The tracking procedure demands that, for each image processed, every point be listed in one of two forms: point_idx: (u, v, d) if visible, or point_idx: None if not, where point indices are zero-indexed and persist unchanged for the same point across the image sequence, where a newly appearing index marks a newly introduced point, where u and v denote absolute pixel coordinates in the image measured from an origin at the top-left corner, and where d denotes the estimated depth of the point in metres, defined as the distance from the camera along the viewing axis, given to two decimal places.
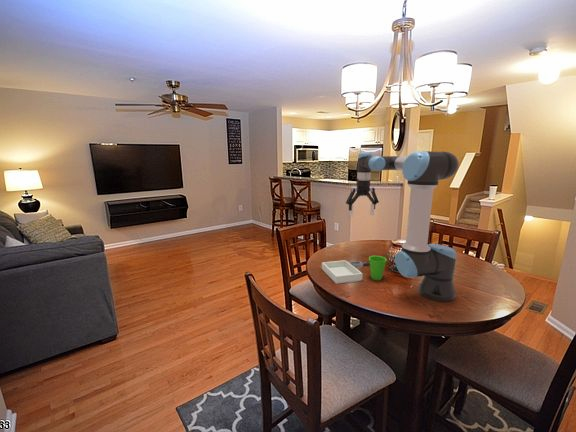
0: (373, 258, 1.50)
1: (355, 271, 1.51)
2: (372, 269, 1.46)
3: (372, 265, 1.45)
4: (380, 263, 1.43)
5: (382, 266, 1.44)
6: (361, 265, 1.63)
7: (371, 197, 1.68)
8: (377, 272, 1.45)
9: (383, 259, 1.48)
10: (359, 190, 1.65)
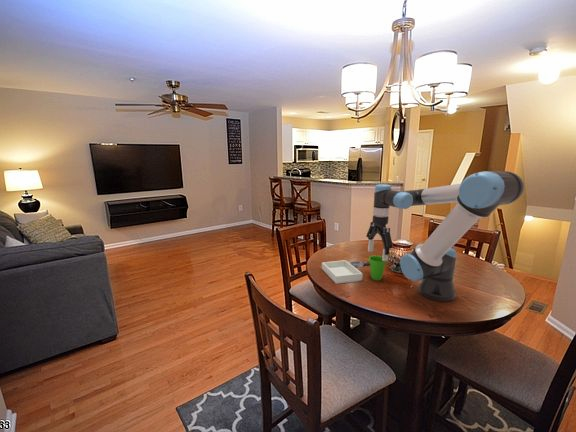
0: (373, 258, 1.50)
1: (355, 271, 1.51)
2: (372, 269, 1.46)
3: (372, 265, 1.45)
4: (380, 263, 1.43)
5: (382, 266, 1.44)
6: (361, 265, 1.63)
7: (382, 238, 1.39)
8: (377, 272, 1.45)
9: None
10: (374, 225, 1.46)
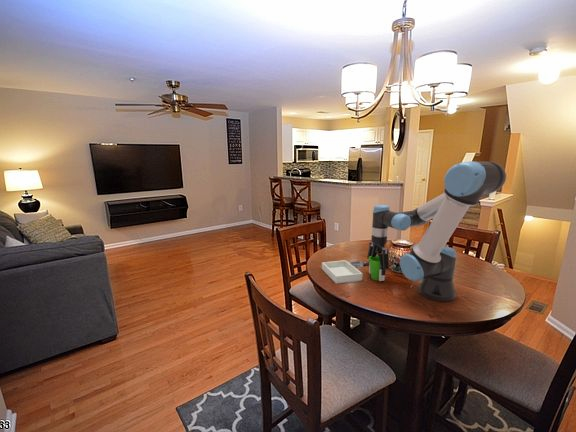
0: (373, 258, 1.50)
1: (355, 271, 1.51)
2: (372, 269, 1.46)
3: (372, 265, 1.45)
4: None
5: None
6: (361, 265, 1.63)
7: (380, 259, 1.42)
8: (377, 272, 1.45)
9: None
10: (373, 245, 1.48)
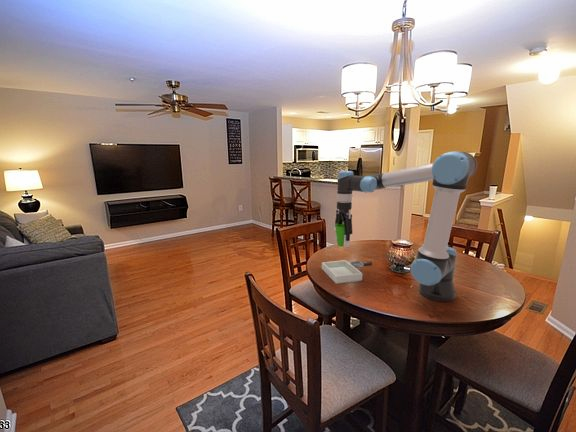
0: (339, 225, 1.51)
1: (355, 271, 1.51)
2: (337, 235, 1.47)
3: (337, 231, 1.46)
4: None
5: None
6: (361, 265, 1.63)
7: (344, 224, 1.43)
8: (342, 238, 1.46)
9: None
10: None
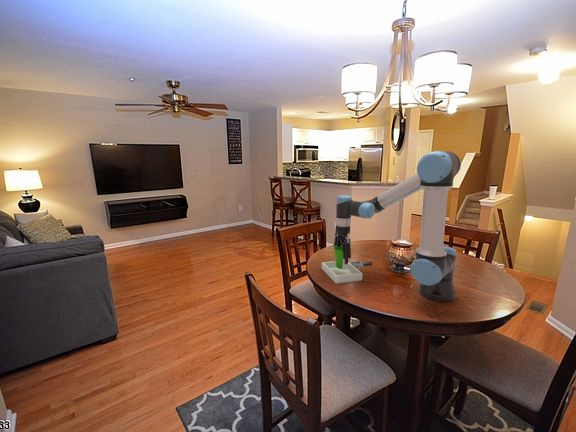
0: (338, 248, 1.54)
1: (355, 271, 1.51)
2: (336, 258, 1.50)
3: (336, 254, 1.49)
4: None
5: None
6: (361, 265, 1.63)
7: (343, 248, 1.46)
8: (341, 261, 1.48)
9: None
10: (338, 235, 1.51)
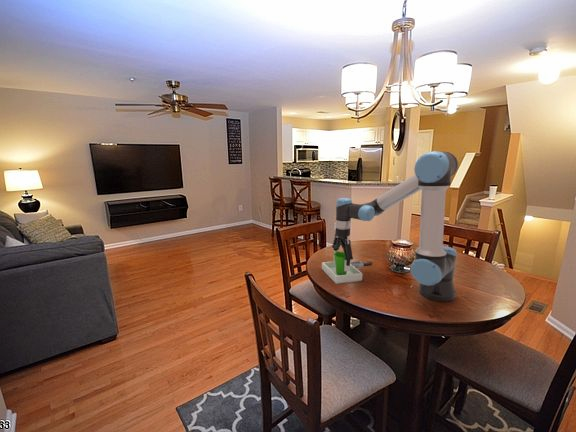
0: (339, 254, 1.55)
1: (355, 271, 1.51)
2: (336, 265, 1.50)
3: (336, 261, 1.49)
4: (343, 259, 1.47)
5: None
6: (361, 265, 1.63)
7: (344, 250, 1.45)
8: (341, 267, 1.49)
9: None
10: (338, 237, 1.52)
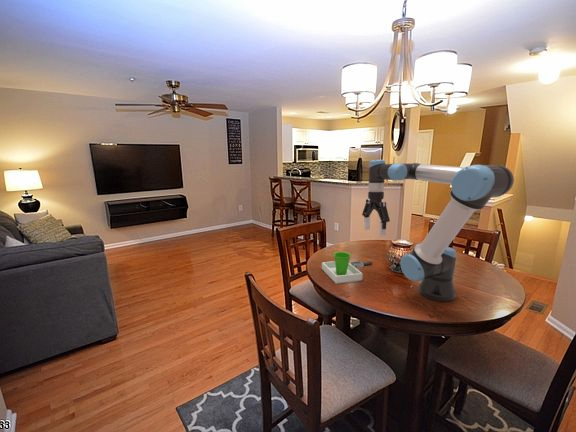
0: (338, 254, 1.55)
1: (355, 271, 1.51)
2: (336, 265, 1.50)
3: (336, 261, 1.49)
4: (343, 259, 1.47)
5: (346, 262, 1.48)
6: (362, 265, 1.63)
7: (379, 213, 1.39)
8: (341, 267, 1.49)
9: (348, 255, 1.52)
10: (370, 202, 1.46)
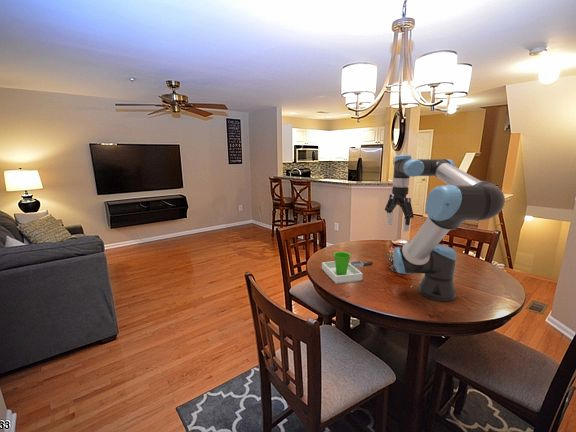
0: (339, 254, 1.55)
1: (355, 271, 1.51)
2: (336, 265, 1.50)
3: (336, 261, 1.49)
4: (343, 259, 1.47)
5: (346, 262, 1.48)
6: (362, 265, 1.63)
7: (403, 209, 1.38)
8: (341, 267, 1.49)
9: (348, 255, 1.52)
10: (394, 197, 1.45)
